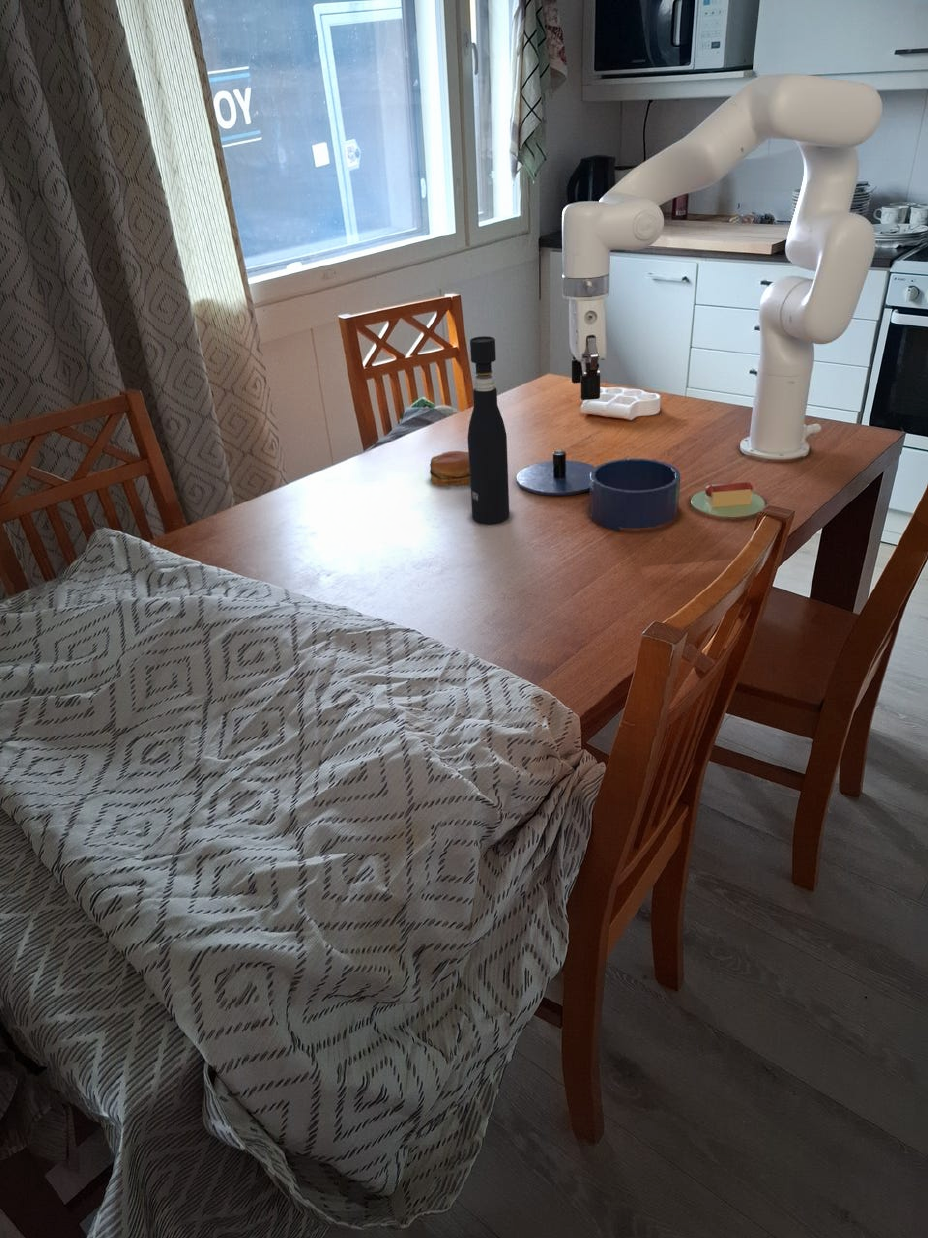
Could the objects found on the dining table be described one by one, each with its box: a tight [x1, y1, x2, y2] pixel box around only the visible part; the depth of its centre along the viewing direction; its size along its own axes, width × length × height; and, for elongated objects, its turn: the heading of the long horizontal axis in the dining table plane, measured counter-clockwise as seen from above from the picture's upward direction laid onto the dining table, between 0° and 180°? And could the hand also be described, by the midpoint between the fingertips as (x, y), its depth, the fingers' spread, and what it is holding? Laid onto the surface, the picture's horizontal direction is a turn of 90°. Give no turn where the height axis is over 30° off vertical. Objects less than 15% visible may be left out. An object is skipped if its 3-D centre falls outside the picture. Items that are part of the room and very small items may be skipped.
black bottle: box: [467, 335, 510, 526], centre depth 140 cm, size 6×6×30 cm
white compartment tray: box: [579, 386, 662, 421], centre depth 191 cm, size 3×18×15 cm
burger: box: [429, 450, 470, 488], centre depth 162 cm, size 10×9×5 cm
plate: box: [690, 489, 766, 518], centre depth 146 cm, size 12×12×1 cm
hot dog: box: [704, 481, 754, 507], centre depth 145 cm, size 8×4×3 cm, turn 94°
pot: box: [589, 458, 681, 532], centre depth 144 cm, size 15×15×7 cm
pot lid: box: [516, 450, 596, 496], centre depth 158 cm, size 16×16×6 cm
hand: (585, 390), depth 148 cm, fingers open, 9 cm apart
